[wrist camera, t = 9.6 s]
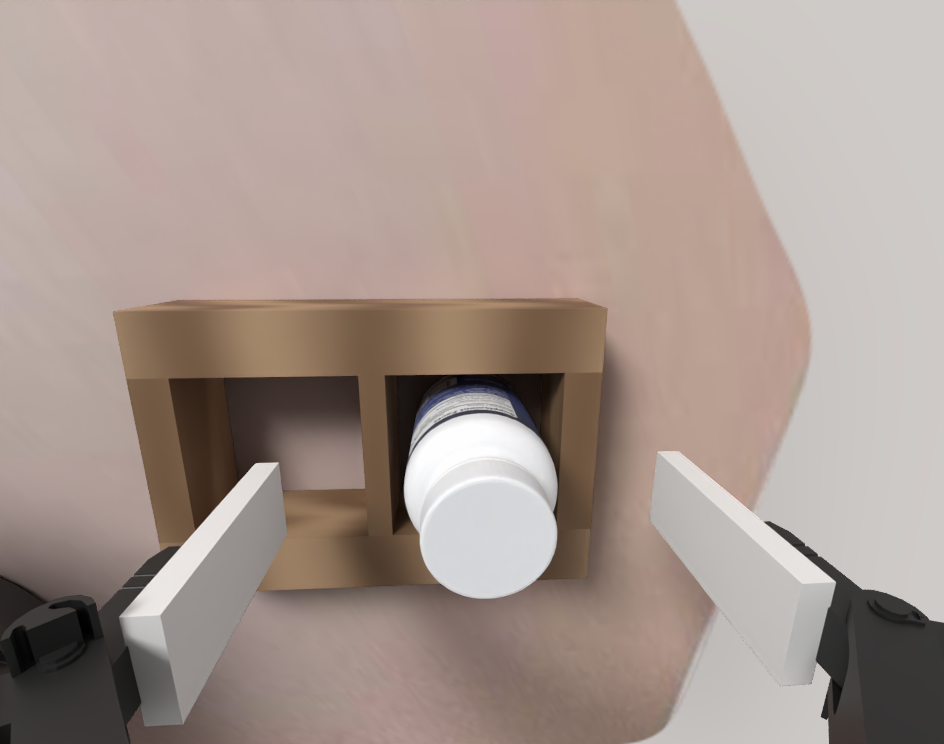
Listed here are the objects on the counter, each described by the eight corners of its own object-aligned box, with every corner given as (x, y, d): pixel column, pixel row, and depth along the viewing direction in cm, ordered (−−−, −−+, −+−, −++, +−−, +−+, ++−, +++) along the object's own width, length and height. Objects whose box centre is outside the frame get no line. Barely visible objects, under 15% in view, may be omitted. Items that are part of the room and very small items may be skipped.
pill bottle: (523, 469, 23) (577, 618, 14) (417, 471, 23) (397, 626, 13) (526, 366, 22) (588, 453, 12) (414, 368, 21) (388, 458, 12)
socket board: (216, 537, 23) (169, 594, 19) (177, 300, 20) (112, 311, 16) (564, 525, 24) (586, 578, 20) (577, 298, 21) (607, 308, 17)
